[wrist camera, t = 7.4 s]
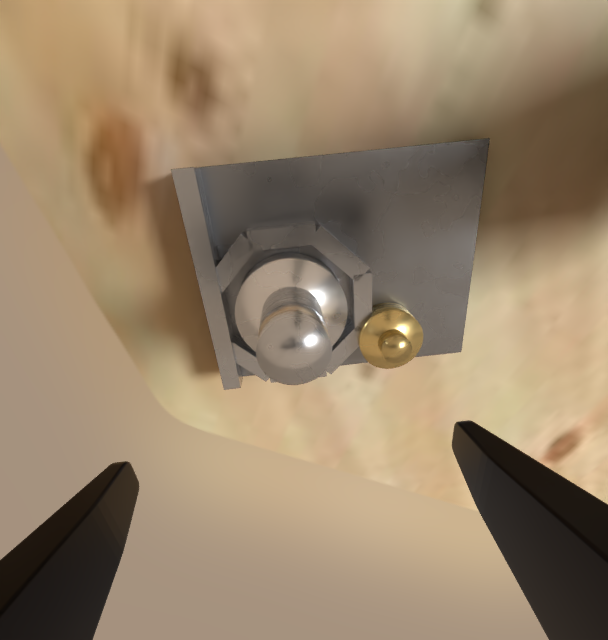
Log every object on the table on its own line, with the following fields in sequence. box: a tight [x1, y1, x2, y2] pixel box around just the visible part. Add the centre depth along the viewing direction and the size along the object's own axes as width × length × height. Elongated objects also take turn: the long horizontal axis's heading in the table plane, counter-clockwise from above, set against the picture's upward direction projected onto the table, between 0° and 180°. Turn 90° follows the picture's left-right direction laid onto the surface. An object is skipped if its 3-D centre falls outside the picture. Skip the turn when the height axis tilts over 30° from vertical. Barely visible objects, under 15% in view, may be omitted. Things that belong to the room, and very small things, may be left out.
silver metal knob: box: [235, 253, 348, 385], centre depth 16 cm, size 6×6×6 cm
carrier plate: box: [171, 138, 490, 390], centre depth 17 cm, size 15×12×4 cm
